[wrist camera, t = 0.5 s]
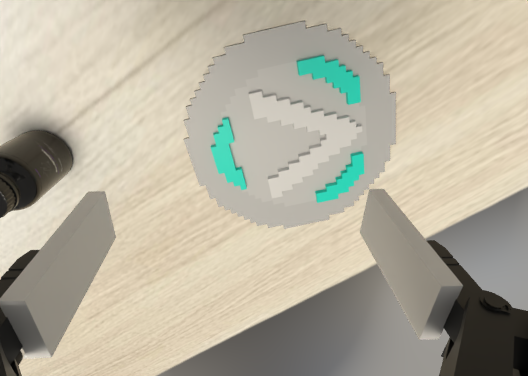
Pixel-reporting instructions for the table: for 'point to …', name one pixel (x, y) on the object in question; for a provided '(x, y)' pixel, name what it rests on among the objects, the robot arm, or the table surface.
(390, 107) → the grey symbol plate
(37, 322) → the robot arm
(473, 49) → the table surface
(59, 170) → the supplement bottle
